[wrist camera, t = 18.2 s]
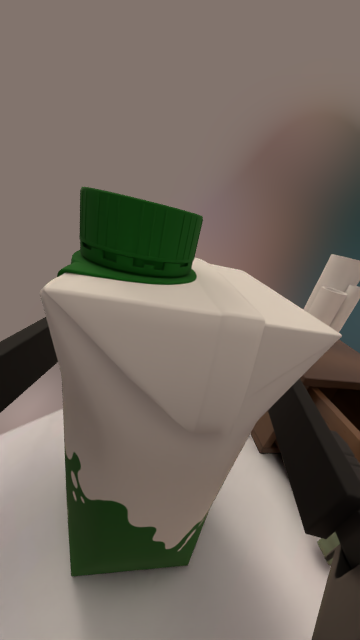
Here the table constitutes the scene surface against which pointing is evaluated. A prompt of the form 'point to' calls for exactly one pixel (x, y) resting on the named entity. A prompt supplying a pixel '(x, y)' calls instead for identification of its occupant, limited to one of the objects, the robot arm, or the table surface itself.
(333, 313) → the vase
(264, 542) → the table surface
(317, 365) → the cabinet
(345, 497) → the robot arm
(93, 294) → the soya milk
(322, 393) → the drawer
